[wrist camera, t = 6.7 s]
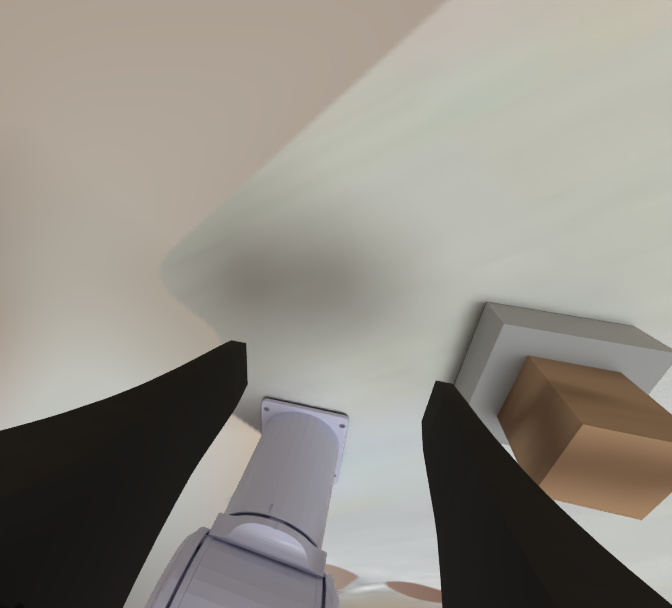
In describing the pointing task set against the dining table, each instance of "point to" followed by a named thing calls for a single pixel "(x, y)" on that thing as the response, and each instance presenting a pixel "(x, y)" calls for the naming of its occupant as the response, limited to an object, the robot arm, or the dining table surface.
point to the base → (550, 354)
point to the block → (589, 437)
